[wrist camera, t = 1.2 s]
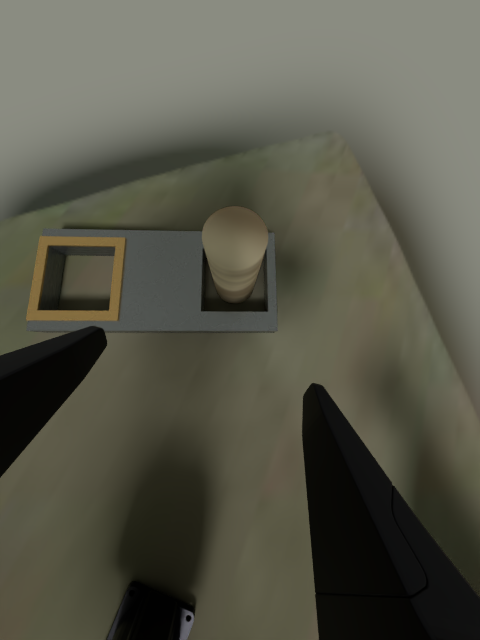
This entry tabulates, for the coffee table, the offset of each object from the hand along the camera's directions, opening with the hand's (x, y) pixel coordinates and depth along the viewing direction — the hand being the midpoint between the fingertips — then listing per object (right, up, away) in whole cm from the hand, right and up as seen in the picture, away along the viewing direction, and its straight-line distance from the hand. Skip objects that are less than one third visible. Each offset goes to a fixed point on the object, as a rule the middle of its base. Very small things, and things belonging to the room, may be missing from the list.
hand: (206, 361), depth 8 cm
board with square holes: (-7, +6, +14) cm, 17 cm away
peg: (+1, +6, +14) cm, 16 cm away
